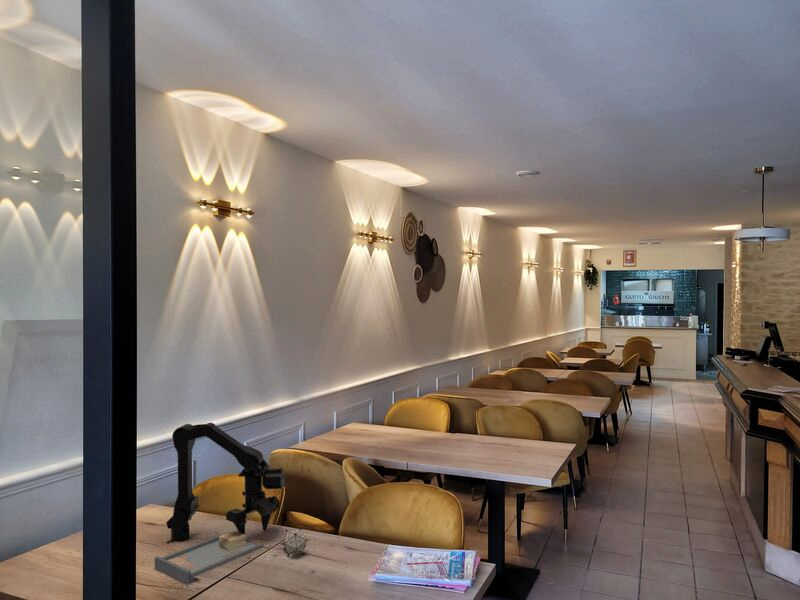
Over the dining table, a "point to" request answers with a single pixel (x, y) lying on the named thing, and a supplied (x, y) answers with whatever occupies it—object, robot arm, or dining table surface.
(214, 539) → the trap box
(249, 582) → the dining table surface
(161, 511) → the dining table surface
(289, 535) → the wire geodesic ornament
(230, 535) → the maple block
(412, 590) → the dining table surface
